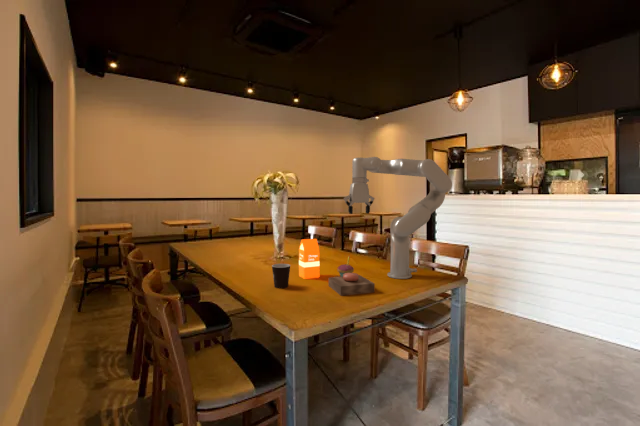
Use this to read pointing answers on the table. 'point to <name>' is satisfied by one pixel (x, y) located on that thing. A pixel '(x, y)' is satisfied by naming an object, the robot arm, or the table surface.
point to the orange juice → (309, 259)
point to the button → (350, 276)
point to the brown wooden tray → (351, 286)
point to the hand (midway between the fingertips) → (359, 213)
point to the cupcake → (345, 268)
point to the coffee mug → (281, 275)
